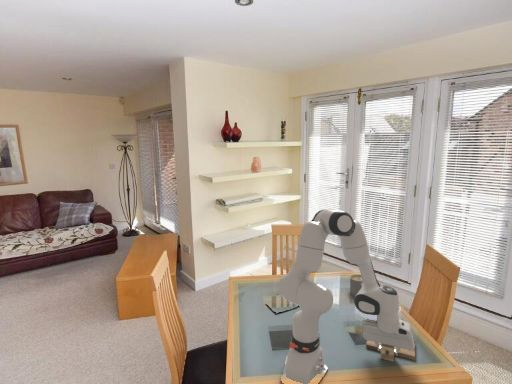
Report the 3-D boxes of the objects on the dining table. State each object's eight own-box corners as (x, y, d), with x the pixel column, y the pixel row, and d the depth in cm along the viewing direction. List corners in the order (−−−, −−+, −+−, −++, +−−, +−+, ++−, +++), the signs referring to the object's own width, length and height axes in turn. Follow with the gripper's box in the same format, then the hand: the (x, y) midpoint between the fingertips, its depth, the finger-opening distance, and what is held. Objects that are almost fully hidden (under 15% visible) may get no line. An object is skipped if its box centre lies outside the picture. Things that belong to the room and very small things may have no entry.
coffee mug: (348, 288, 192) (348, 274, 191) (364, 288, 191) (363, 274, 190) (353, 298, 179) (353, 283, 178) (370, 298, 178) (370, 283, 177)
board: (415, 360, 125) (415, 356, 125) (366, 348, 135) (366, 344, 134) (414, 345, 135) (414, 341, 134) (369, 334, 144) (369, 330, 144)
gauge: (393, 363, 124) (393, 351, 123) (380, 360, 126) (380, 347, 125) (395, 341, 137) (395, 330, 136) (383, 339, 140) (383, 327, 139)
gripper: (361, 321, 128) (361, 350, 130) (414, 333, 118) (413, 363, 120) (363, 314, 133) (363, 341, 135) (413, 324, 123) (413, 354, 125)
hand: (387, 352), depth 127 cm, fingers closed on gauge, 5 cm apart
